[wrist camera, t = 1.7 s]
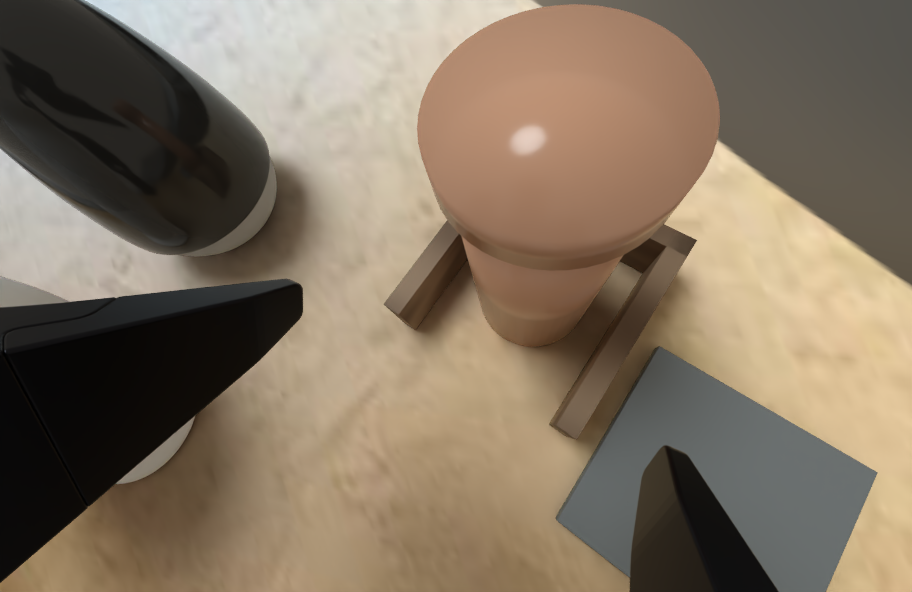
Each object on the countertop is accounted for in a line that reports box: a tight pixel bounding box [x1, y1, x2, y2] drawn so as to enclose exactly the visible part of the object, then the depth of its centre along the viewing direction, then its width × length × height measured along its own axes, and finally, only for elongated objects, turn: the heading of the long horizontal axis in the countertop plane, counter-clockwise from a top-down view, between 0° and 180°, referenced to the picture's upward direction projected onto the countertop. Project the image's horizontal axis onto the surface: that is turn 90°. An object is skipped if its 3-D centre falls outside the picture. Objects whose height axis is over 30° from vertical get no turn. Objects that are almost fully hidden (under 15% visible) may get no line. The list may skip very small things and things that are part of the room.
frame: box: [384, 220, 697, 439], centre depth 20 cm, size 11×11×4 cm
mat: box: [556, 346, 877, 592], centre depth 18 cm, size 10×10×1 cm
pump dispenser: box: [0, 0, 277, 256], centre depth 20 cm, size 10×10×15 cm
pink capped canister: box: [417, 4, 720, 346], centre depth 15 cm, size 7×7×14 cm
